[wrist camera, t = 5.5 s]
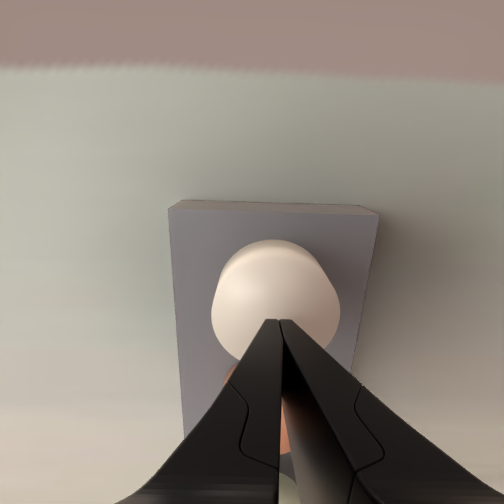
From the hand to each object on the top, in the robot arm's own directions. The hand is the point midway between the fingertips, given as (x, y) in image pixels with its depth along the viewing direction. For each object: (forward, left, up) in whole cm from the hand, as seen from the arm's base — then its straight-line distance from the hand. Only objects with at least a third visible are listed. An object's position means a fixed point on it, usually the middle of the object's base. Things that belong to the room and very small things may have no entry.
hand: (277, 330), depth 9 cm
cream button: (0, 0, -3) cm, 3 cm away
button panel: (-4, -5, -7) cm, 9 cm away
